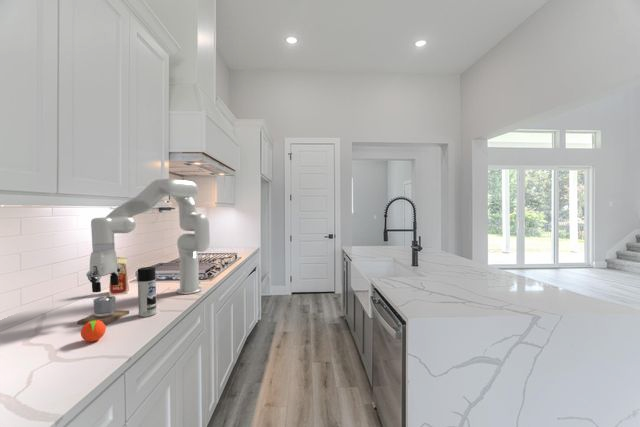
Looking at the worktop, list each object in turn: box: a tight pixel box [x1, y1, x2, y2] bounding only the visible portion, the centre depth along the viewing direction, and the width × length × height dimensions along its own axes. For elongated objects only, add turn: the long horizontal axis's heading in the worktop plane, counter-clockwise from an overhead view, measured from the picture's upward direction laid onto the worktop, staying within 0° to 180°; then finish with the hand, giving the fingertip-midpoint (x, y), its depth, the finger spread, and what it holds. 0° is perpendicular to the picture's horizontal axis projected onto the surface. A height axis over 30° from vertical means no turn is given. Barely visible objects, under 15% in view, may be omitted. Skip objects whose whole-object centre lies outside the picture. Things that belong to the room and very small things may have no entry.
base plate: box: [76, 309, 130, 326], centre depth 127 cm, size 13×12×1 cm
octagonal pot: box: [93, 295, 117, 314], centre depth 127 cm, size 7×7×5 cm
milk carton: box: [108, 256, 130, 296], centre depth 166 cm, size 9×9×20 cm
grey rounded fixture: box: [95, 298, 114, 318], centre depth 127 cm, size 7×7×7 cm
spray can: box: [137, 266, 157, 318], centre depth 131 cm, size 7×7×20 cm
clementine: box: [80, 320, 107, 343], centre depth 105 cm, size 8×7×7 cm
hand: (105, 288), depth 127 cm, fingers open, 9 cm apart
